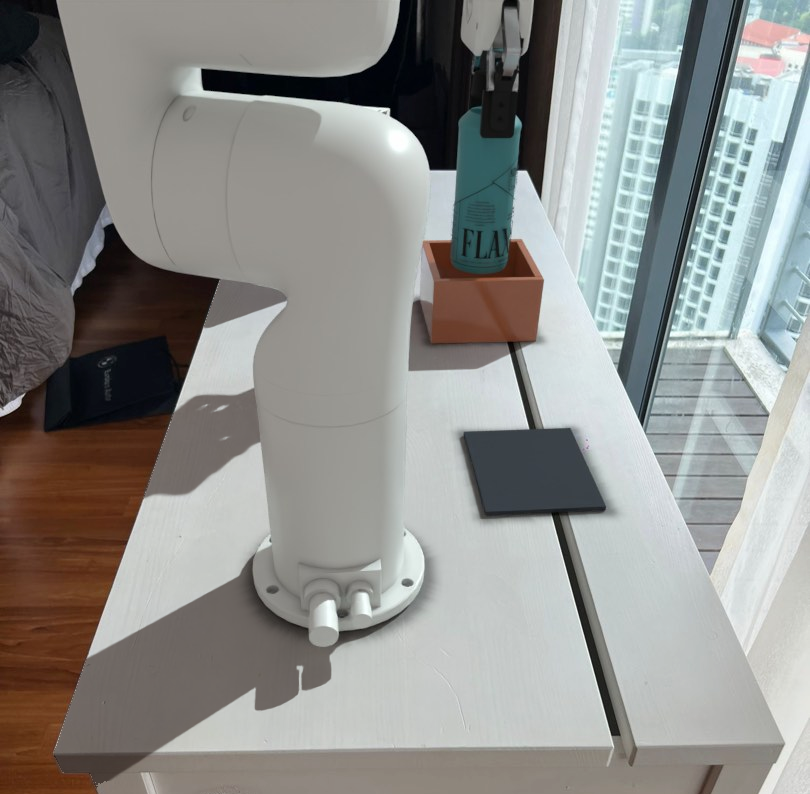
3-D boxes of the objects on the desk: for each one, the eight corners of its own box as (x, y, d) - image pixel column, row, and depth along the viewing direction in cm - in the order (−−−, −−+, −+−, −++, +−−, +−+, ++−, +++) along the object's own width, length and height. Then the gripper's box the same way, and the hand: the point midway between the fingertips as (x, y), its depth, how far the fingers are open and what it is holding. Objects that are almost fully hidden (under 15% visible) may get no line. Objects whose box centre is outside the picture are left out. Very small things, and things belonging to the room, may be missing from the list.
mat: (605, 510, 69) (606, 506, 69) (485, 515, 68) (485, 511, 68) (569, 431, 78) (570, 427, 78) (463, 435, 77) (463, 431, 77)
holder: (536, 341, 92) (544, 279, 87) (431, 343, 91) (433, 281, 86) (515, 296, 101) (521, 238, 96) (419, 298, 100) (421, 240, 95)
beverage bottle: (450, 288, 89) (463, 76, 77) (445, 264, 94) (457, 62, 82) (511, 288, 89) (534, 78, 77) (503, 265, 95) (523, 64, 82)
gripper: (450, -106, 78) (440, 107, 89) (481, -99, 64) (465, 151, 75) (530, -103, 78) (510, 108, 90) (577, -96, 65) (547, 151, 76)
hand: (489, 126), depth 82 cm, fingers closed on beverage bottle, 6 cm apart
